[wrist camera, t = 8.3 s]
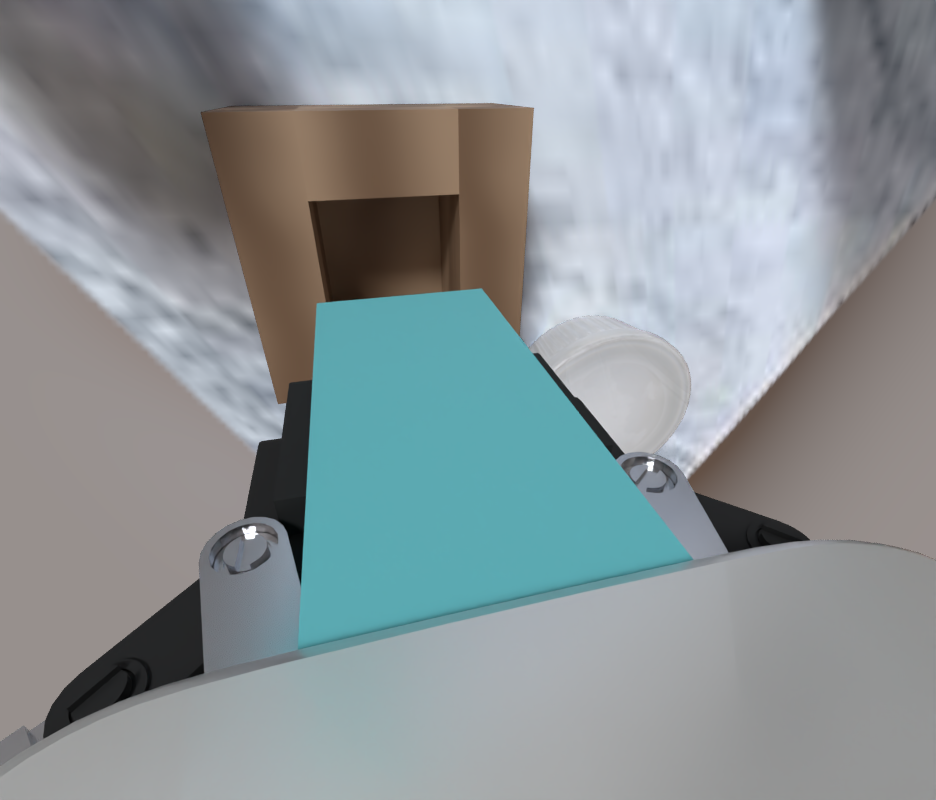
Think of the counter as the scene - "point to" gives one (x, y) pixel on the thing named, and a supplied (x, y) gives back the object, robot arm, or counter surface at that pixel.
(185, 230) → the counter surface
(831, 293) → the counter surface
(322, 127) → the socket block
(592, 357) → the ramekin
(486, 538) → the peg
